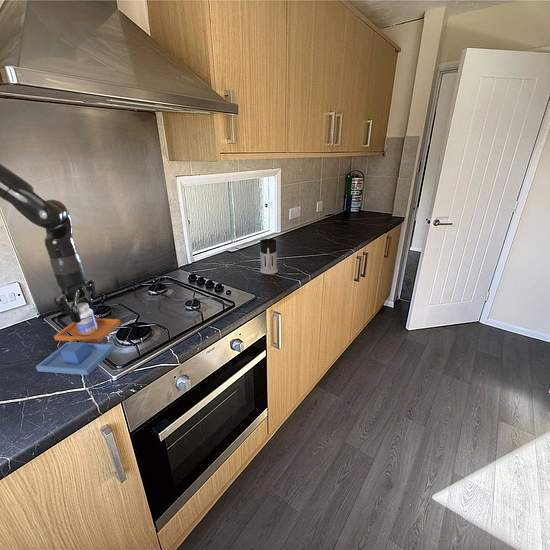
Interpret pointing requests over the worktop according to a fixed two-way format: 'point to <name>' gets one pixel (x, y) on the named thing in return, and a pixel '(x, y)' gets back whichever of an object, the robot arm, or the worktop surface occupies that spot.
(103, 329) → the amber tray
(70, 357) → the blue block
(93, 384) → the worktop surface
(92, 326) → the pill bottle
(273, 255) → the glass holder
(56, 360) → the blue tray
